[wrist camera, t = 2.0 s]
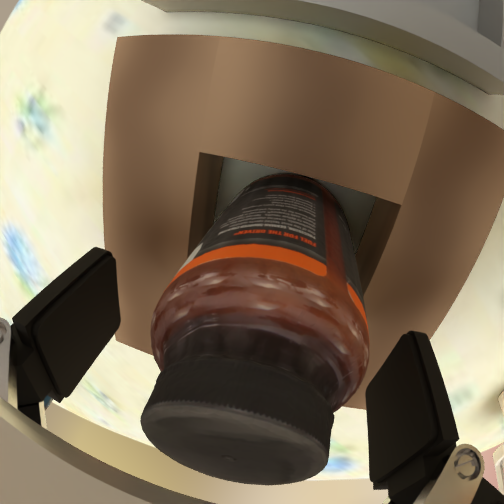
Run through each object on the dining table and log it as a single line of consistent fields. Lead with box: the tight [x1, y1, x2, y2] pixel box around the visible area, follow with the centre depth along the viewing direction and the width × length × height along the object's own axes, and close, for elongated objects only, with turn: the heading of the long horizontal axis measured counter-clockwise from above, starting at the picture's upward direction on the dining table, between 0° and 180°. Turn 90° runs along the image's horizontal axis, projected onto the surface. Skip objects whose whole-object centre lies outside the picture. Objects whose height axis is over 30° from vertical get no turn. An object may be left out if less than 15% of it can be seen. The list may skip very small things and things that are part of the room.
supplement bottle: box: [140, 174, 370, 485], centre depth 10 cm, size 6×6×11 cm
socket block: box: [103, 35, 504, 410], centre depth 13 cm, size 16×16×4 cm
